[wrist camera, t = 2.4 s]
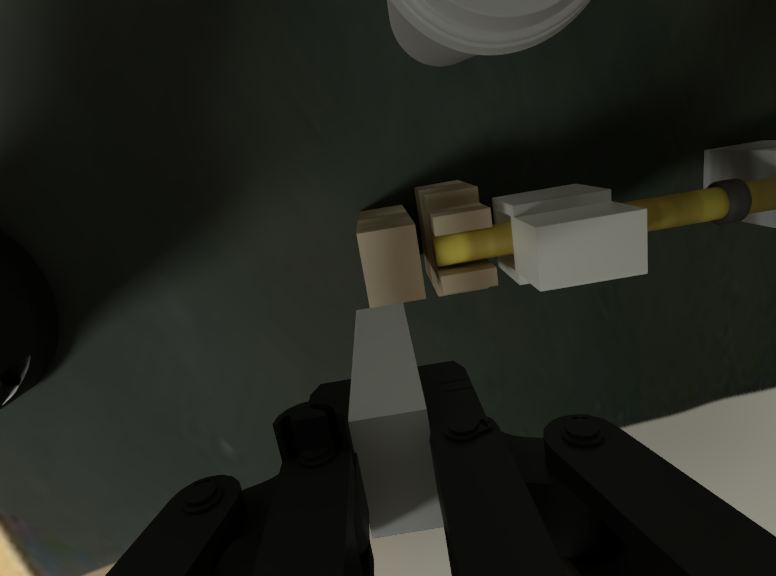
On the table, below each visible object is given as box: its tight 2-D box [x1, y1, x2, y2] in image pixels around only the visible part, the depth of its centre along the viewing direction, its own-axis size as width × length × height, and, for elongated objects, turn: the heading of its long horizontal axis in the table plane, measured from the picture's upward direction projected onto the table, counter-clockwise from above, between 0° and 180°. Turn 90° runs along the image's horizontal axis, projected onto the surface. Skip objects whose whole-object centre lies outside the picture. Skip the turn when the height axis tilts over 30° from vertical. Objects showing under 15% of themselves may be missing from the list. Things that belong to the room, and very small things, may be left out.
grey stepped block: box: [492, 184, 648, 292], centre depth 25 cm, size 5×4×7 cm
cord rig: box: [357, 140, 776, 308], centre depth 29 cm, size 28×6×10 cm, turn 99°
